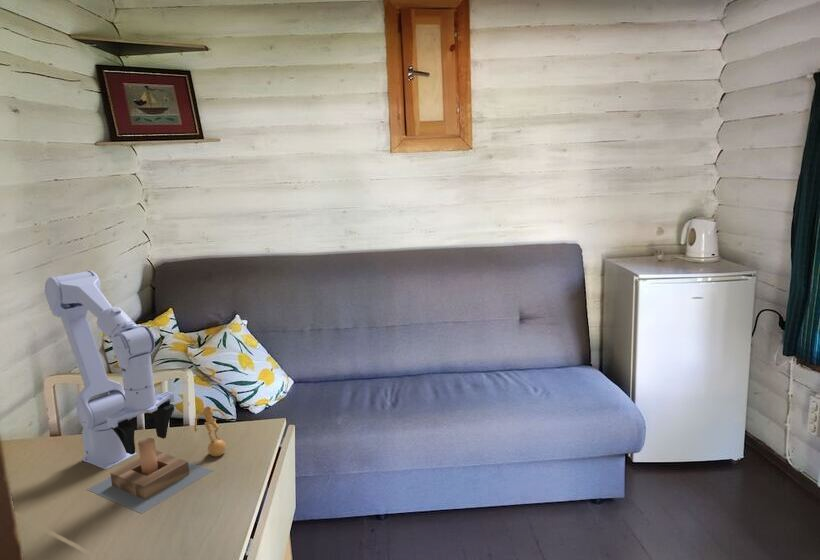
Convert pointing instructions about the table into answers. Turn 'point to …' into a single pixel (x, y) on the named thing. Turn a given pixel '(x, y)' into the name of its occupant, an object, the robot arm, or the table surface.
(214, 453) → the figurine
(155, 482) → the square frame
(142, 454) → the dowel
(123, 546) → the table surface
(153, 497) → the mat
